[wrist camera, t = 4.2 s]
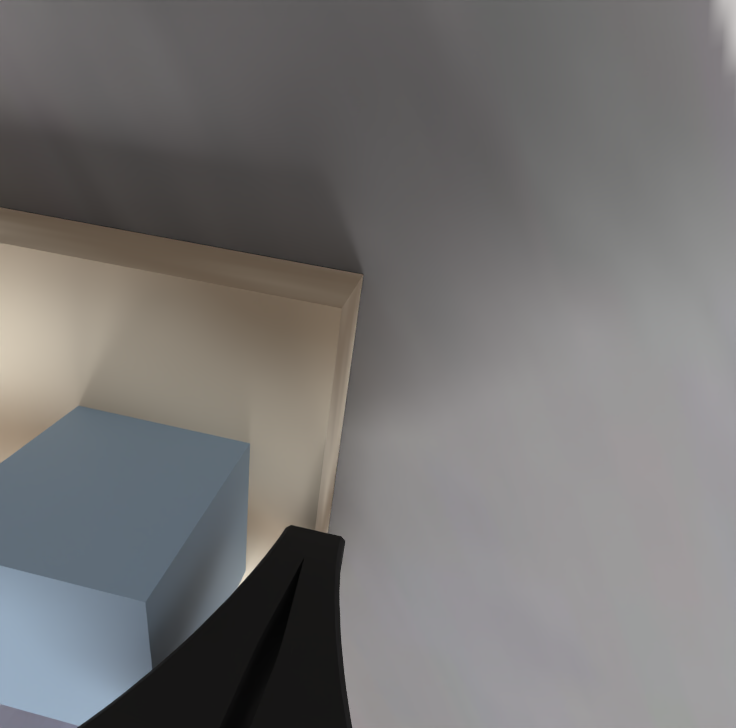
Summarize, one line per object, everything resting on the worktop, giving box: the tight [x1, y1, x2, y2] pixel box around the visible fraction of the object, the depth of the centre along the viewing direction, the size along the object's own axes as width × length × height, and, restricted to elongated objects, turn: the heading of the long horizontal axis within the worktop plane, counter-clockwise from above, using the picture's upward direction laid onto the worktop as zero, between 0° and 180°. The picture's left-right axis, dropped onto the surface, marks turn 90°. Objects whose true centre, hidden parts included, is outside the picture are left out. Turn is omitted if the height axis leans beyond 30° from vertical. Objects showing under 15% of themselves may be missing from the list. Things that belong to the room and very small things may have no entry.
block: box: [0, 406, 250, 726], centre depth 11 cm, size 4×4×4 cm
